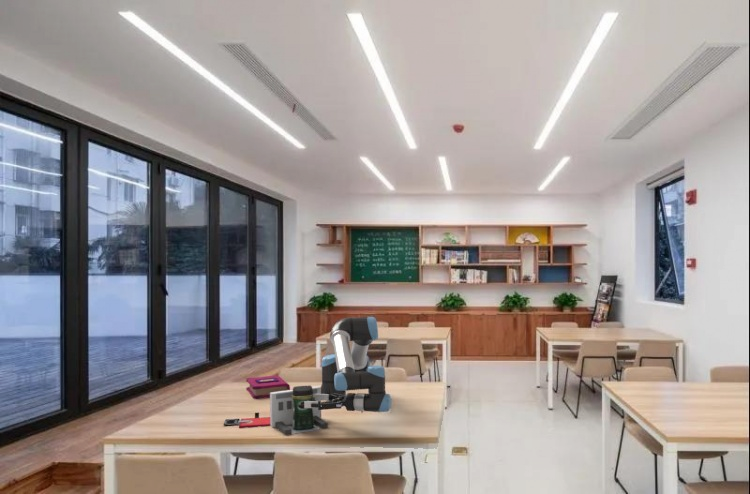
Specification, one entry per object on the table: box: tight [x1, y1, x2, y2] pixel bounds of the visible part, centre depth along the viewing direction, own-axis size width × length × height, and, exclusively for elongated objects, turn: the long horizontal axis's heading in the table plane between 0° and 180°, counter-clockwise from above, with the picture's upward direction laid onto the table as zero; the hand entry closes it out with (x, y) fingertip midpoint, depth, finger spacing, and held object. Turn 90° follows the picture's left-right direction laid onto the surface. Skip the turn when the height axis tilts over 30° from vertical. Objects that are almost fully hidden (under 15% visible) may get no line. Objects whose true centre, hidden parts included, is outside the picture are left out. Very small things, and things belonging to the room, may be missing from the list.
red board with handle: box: [223, 412, 271, 429], centre depth 233 cm, size 30×3×15 cm
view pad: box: [288, 424, 320, 435], centre depth 222 cm, size 11×12×1 cm
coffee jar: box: [292, 384, 315, 430], centre depth 223 cm, size 10×8×19 cm
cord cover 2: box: [313, 416, 329, 430], centre depth 228 cm, size 14×3×2 cm, turn 28°
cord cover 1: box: [274, 421, 292, 436], centre depth 220 cm, size 14×3×2 cm, turn 28°
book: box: [246, 374, 291, 400], centre depth 296 cm, size 21×28×8 cm
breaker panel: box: [269, 385, 322, 428], centre depth 232 cm, size 4×24×15 cm, turn 118°
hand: (309, 400), depth 222 cm, fingers open, 13 cm apart
